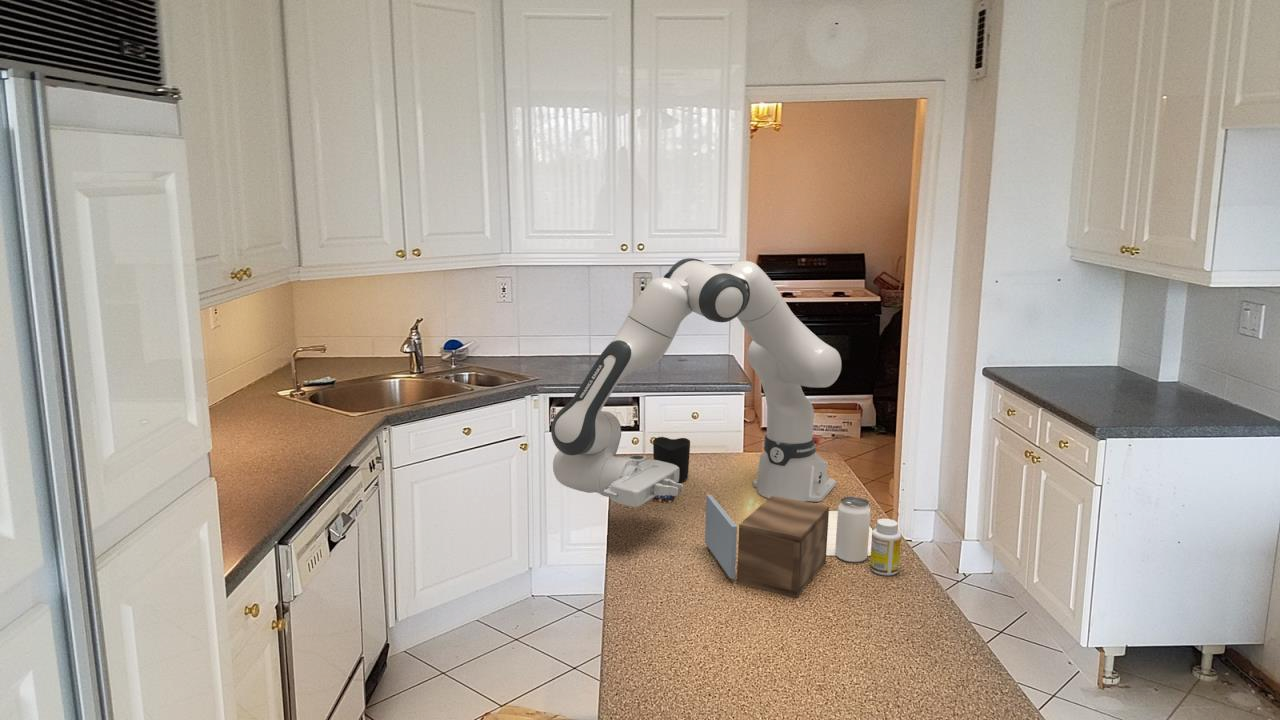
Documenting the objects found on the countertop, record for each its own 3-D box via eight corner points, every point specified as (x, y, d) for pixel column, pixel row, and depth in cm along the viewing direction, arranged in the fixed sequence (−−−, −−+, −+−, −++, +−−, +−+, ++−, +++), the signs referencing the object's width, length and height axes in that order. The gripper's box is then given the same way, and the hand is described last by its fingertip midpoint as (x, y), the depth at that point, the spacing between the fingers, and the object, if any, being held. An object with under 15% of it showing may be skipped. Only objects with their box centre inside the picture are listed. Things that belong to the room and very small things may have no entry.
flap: (704, 542, 190) (706, 494, 188) (709, 541, 190) (711, 494, 188) (730, 578, 173) (732, 526, 171) (735, 578, 174) (737, 526, 171)
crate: (769, 550, 189) (772, 495, 187) (825, 562, 184) (829, 506, 181) (736, 583, 174) (739, 524, 171) (797, 597, 168) (800, 537, 166)
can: (843, 547, 191) (847, 493, 189) (872, 556, 187) (876, 501, 185) (829, 557, 186) (832, 501, 184) (858, 566, 182) (862, 509, 180)
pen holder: (671, 470, 239) (671, 433, 237) (696, 479, 232) (697, 441, 230) (644, 477, 233) (645, 440, 231) (670, 487, 226) (671, 448, 224)
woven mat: (637, 487, 227) (637, 479, 227) (679, 491, 225) (679, 483, 225) (629, 502, 217) (629, 493, 217) (672, 505, 215) (673, 497, 215)
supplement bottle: (894, 564, 183) (897, 517, 181) (901, 577, 178) (905, 527, 176) (866, 564, 183) (869, 516, 181) (873, 576, 178) (876, 527, 176)
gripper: (597, 477, 184) (658, 489, 178) (644, 453, 202) (700, 463, 196) (596, 507, 186) (656, 520, 179) (643, 480, 203) (699, 491, 197)
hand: (680, 490), depth 188 cm, fingers closed
